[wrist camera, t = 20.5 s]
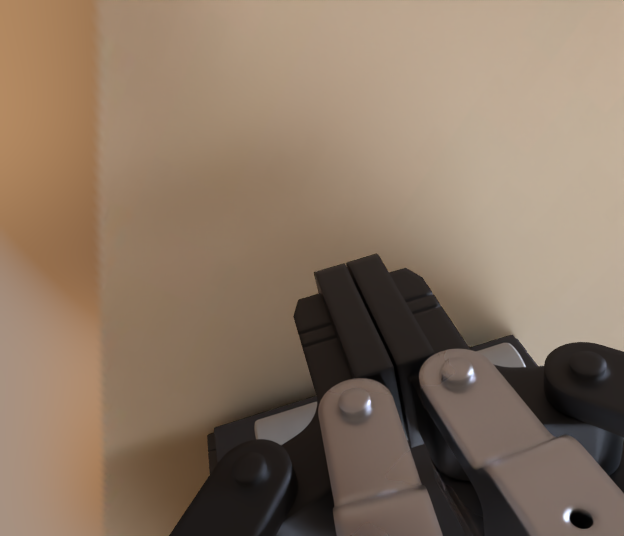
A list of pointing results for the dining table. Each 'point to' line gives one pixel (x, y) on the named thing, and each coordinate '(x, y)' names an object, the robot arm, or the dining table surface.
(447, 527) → the drawer
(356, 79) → the dining table surface
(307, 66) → the dining table surface
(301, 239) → the dining table surface
